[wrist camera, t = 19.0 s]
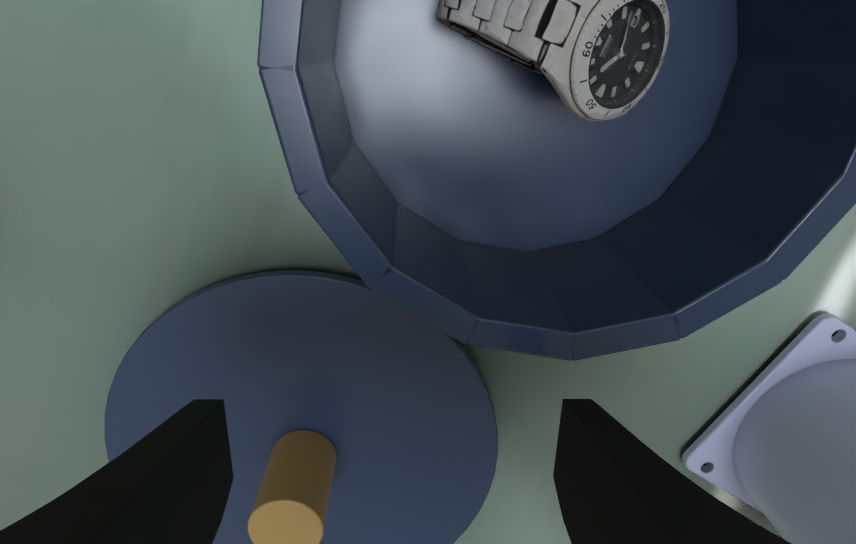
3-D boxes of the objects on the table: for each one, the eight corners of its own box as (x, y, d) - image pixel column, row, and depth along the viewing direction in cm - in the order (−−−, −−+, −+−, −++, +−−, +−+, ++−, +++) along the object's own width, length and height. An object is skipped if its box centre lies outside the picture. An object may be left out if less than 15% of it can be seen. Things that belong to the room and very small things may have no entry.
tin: (848, -10, 17) (1087, -44, 11) (569, 331, 21) (634, 443, 15) (481, -343, 14) (535, -640, 8) (235, 125, 18) (147, 162, 12)
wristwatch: (600, 128, 18) (667, 154, 13) (417, 50, 17) (420, 49, 12) (655, 15, 17) (750, -1, 12) (463, -76, 16) (485, -130, 11)
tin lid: (566, 375, 22) (606, 456, 17) (383, 616, 26) (378, 730, 22) (206, 187, 19) (144, 228, 14) (66, 495, 23) (-14, 599, 19)
